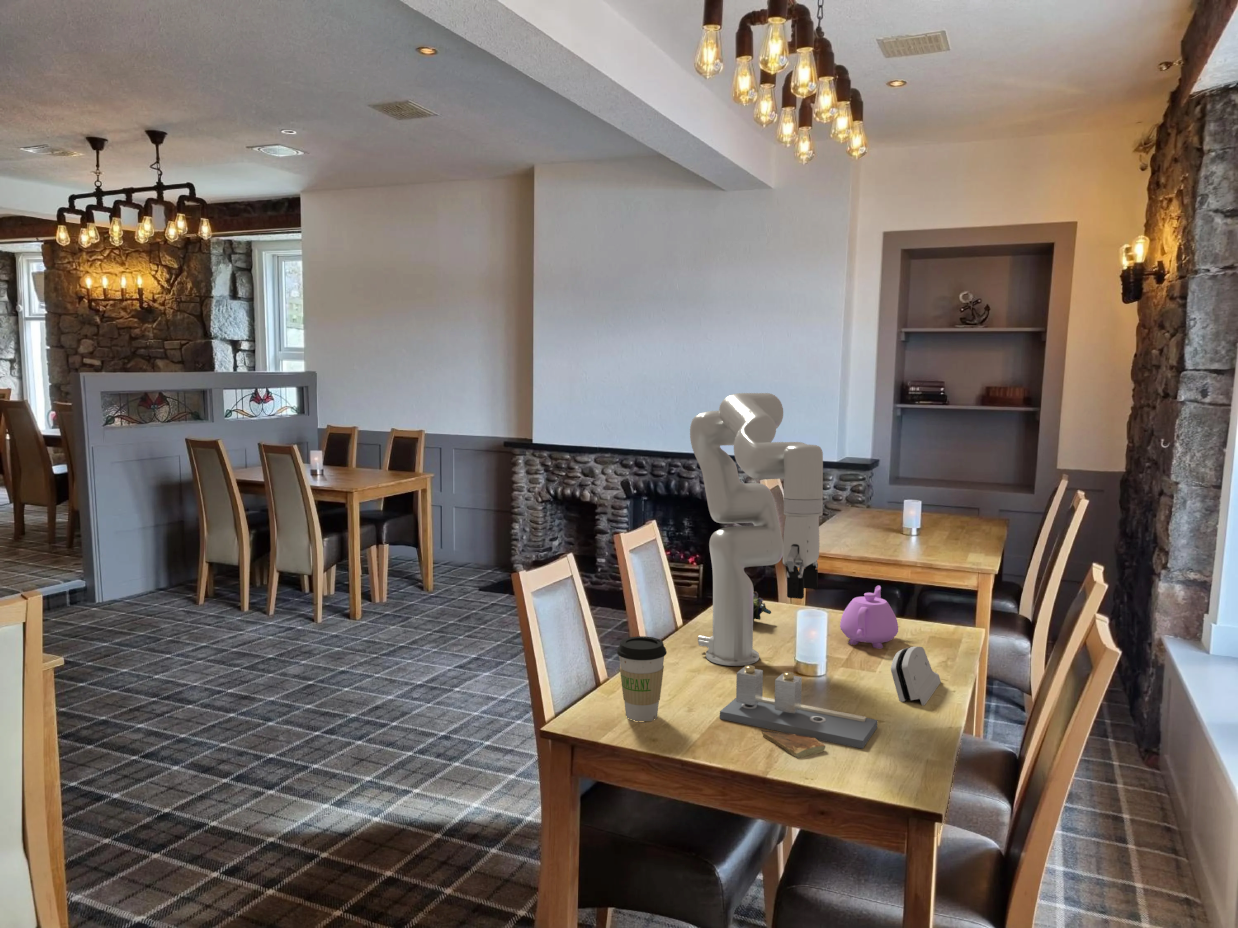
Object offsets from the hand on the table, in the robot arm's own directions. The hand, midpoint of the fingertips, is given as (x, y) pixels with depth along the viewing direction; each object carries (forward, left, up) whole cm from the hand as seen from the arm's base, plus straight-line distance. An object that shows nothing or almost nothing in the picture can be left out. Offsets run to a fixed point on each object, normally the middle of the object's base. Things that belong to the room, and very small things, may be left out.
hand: (802, 592), depth 174 cm
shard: (+4, -17, -25) cm, 31 cm away
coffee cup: (-27, -18, -25) cm, 40 cm away
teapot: (0, +54, -25) cm, 60 cm away
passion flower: (-33, +52, -25) cm, 66 cm away
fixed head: (-9, -6, -22) cm, 25 cm away
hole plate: (+1, -6, -24) cm, 25 cm away
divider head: (-1, -6, -22) cm, 23 cm away
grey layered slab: (+17, +24, -25) cm, 39 cm away
